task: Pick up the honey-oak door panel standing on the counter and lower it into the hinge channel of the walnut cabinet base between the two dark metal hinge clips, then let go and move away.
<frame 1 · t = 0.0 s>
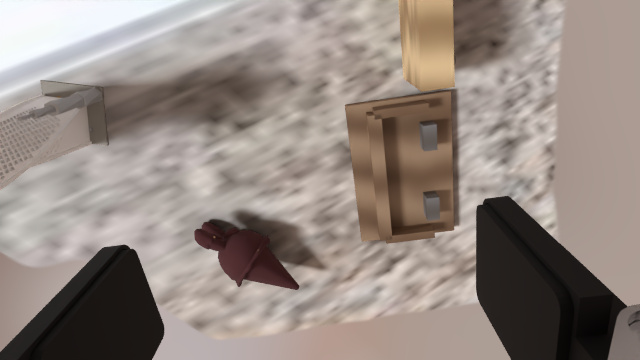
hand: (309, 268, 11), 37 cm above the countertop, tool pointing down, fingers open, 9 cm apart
icecream: (253, 243, 53), on the countertop
cabinet base: (401, 169, 49), on the countertop
door panel: (413, 20, 42), on the countertop
cheese grater: (74, 118, 47), on the countertop
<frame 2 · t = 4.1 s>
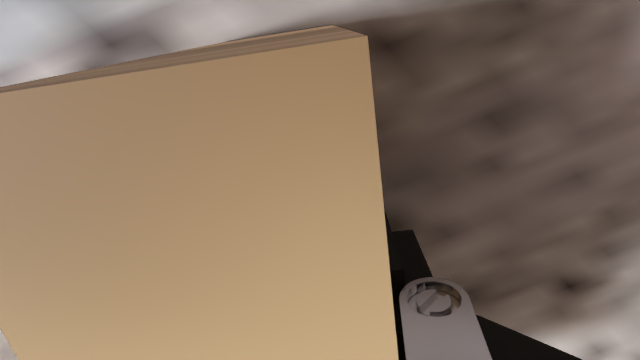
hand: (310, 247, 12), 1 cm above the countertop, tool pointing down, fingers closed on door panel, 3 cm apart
door panel: (311, 226, 13), on the countertop, touching gripper
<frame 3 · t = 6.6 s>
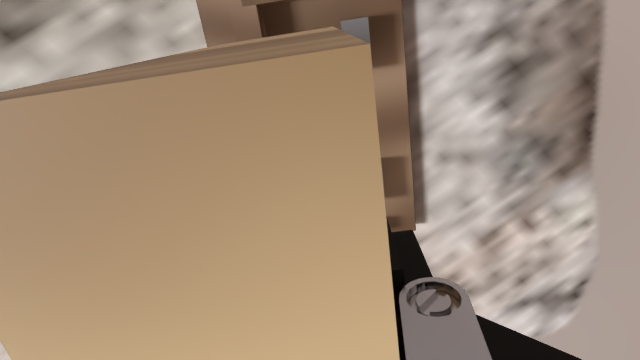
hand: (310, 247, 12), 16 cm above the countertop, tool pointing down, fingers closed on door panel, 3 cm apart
cabinet base: (317, 119, 27), on the countertop
door panel: (312, 228, 13), point 15 cm above the countertop, touching gripper
when the fingers open (4 cm above the countertop, at t = 9.4 s): door panel drops 1 cm, resting on cabinet base.
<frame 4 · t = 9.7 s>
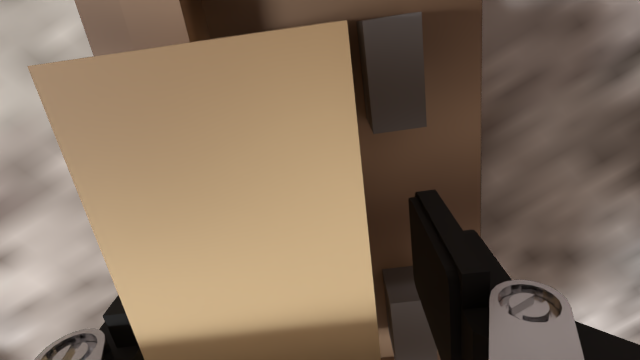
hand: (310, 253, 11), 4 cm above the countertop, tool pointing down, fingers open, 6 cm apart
cabinet base: (313, 196, 15), on the countertop
door panel: (309, 205, 14), point 1 cm above the countertop, touching cabinet base
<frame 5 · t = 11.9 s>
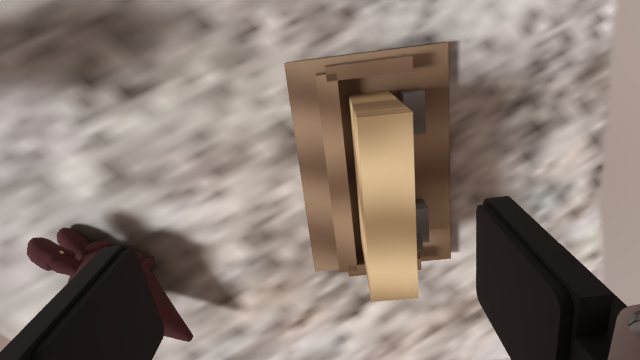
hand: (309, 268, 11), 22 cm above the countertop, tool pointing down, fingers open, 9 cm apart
icecream: (138, 265, 37), on the countertop
cabinet base: (373, 165, 33), on the countertop
door panel: (373, 167, 32), point 1 cm above the countertop, touching cabinet base
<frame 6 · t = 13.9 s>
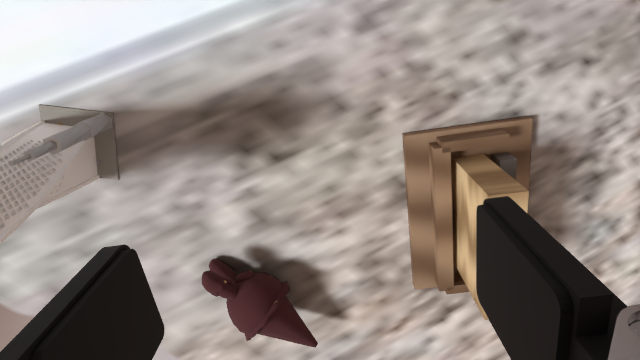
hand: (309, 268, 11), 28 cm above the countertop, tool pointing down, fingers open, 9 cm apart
icecream: (266, 286, 46), on the countertop
cabinet base: (465, 207, 41), on the countertop
door panel: (467, 210, 40), point 1 cm above the countertop, touching cabinet base
cheese grater: (78, 148, 40), on the countertop
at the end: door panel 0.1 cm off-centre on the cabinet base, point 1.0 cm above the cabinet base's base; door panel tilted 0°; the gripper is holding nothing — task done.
